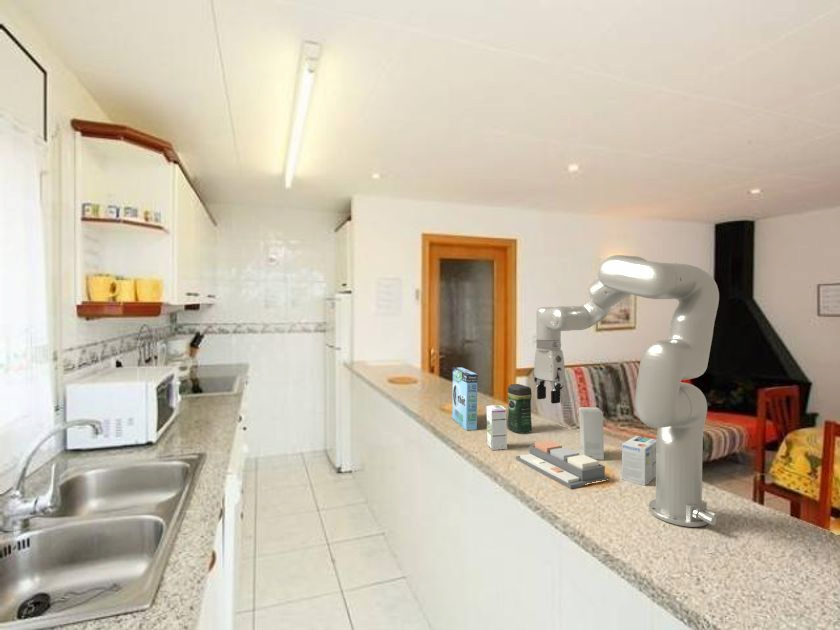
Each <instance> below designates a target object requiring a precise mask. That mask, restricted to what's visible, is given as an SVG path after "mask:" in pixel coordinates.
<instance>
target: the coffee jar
mask: <svg viewBox="0 0 840 630" xmlns="http://www.w3.org/2000/svg"><path fill="white" fill-rule="evenodd" d="M507 388H508V389H507V397H508V410H507V411H508V413H507V429H509V431H512V432H514V433H516V434H520V433H521V434H528V433H531V432H532V429H533V428H532V424H533V423H532V409H531V408H532V406H531V402H532V396H533V395H532V388H531V387H530V386H527V385H523V384H520V383H511V384H509V386H508V387H507Z"/></svg>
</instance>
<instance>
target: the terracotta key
mask: <svg viewBox="0 0 840 630" xmlns="http://www.w3.org/2000/svg"><path fill="white" fill-rule="evenodd" d="M534 445H535V448H537V449H539V450H542V451H544V452H546V453H549V452H550V450H552V449H558V448H563V445H561V444H560V443H556V442H554V441H552V440H544V441H538V442H534Z"/></svg>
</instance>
